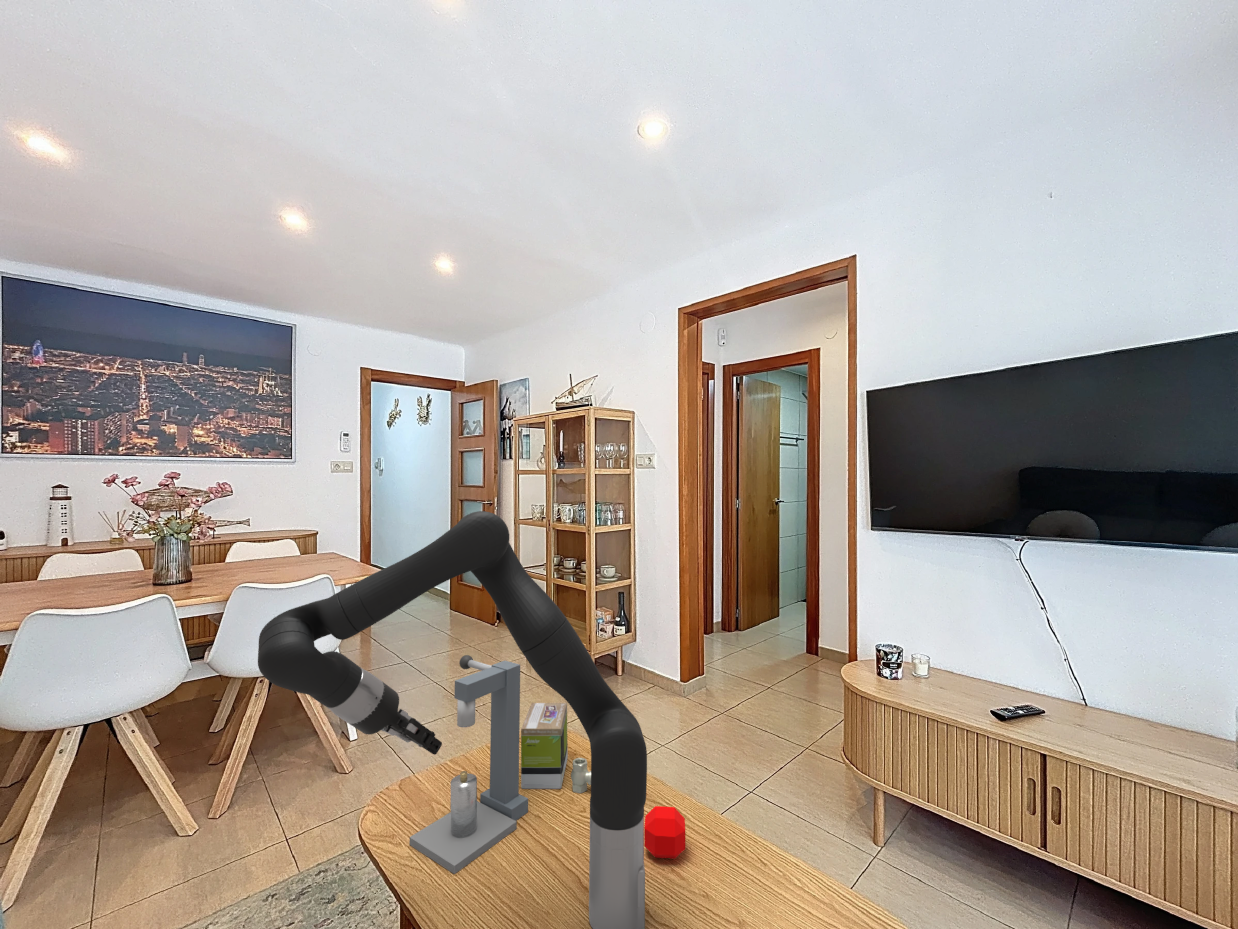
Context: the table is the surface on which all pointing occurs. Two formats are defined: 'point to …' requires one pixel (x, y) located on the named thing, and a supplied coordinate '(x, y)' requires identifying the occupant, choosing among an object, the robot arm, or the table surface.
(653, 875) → the table surface
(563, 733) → the tea box
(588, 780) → the valve
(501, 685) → the press
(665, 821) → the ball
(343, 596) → the robot arm
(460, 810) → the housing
